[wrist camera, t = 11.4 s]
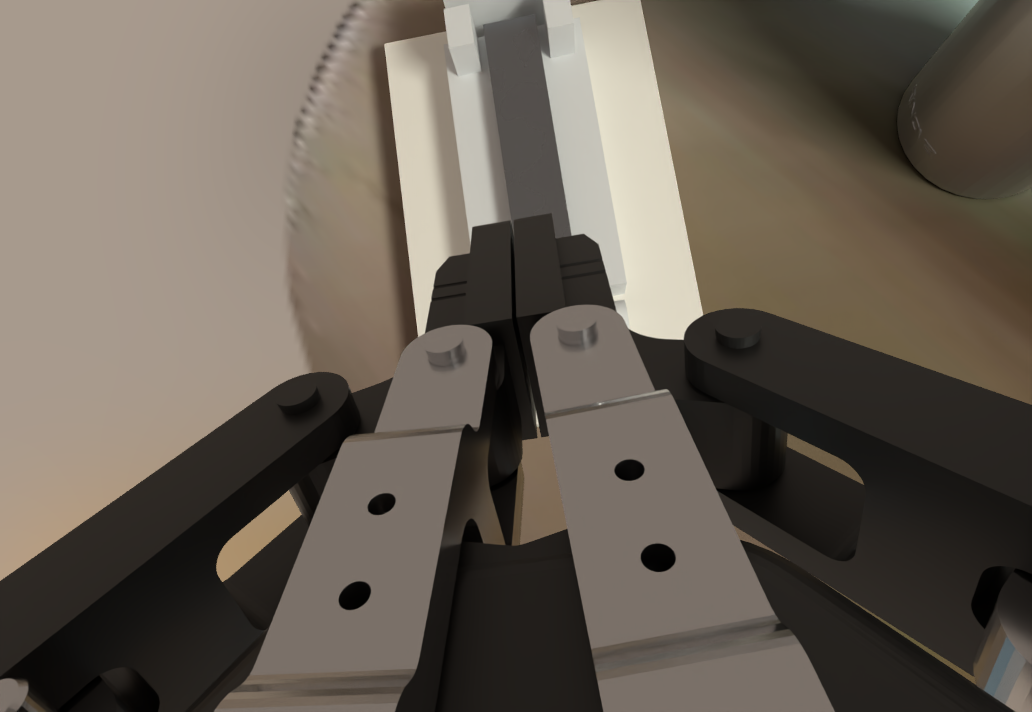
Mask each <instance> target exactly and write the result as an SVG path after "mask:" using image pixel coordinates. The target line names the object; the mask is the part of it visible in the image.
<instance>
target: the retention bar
mask: <svg viewBox="0 0 1032 712" xmlns="http://www.w3.org/2000/svg"><path fill="white" fill-rule="evenodd" d="M483 30H484V36H485V43H486V50H487V57H488V64H489V71H490V77H491V84H492V91H493V98H494V105H495V112H496V118H497V125H498V132H499V139H500V146H501V153H502V159H503V166H504V173H505V180H506V187H507V194H508V200H509V207H510V214H511V221H512V226H513V230H514V219H519V218H525V217H531V216H537V215H542V214H548V213H552V218H553V224H554V230H555V237H556V238H561V237H567V236H572V235H571V229H570V223H569V217H568V210H567V204H566V198H565V192H564V186H563V180H562V174H561V168H560V162H559V156H558V150H557V144H556V138H555V132H554V126H553V120H552V114H551V108H550V101H549V95H548V89H547V83H546V77H545V71H544V65H543V59H542V53H541V47H540V41H539V35H538V29H537V23H536V17H535V14H533V15H528V16H523V17H518V18H513V19H508V20H504V21H499V22H494V23H489V24H484V25H483Z"/></svg>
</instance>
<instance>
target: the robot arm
mask: <svg viewBox="0 0 1032 712" xmlns="http://www.w3.org/2000/svg"><path fill="white" fill-rule="evenodd" d="M897 128H898V134H899V140H900V142H901V145H902V147H903V150H904V152H905V154H906V156H907V157H908V159H909V160H910V162H911V163H912V165H913V166H914V167H915V168H916V169H917V170H918V171H919V172H920V173H921V174H922V175H923V176H924V177H925V178H926V179H927V180H929V181H930V182H932V183H934V184H935V185H937V186H938V187H940V188H941V189H944V190H946V191H949V192H952V193H954V194H957V195H960V196H965V197H970V198H975V199H997V198H1003V197H1008V196H1013V195H1016V194H1018V193H1021V192H1023V191H1026V190H1028V189H1030V188H1032V0H979V1H978V2H977V3H976V4H975V6H974V7H973V8H972V9H971V11H970V12H969V13H968V14H967V15H966V17H965V18H964V19H963V20H962V21H961V23H960V24H959V25H958V26H957V27H956V29H955V30H954V31H953V32H952V33H951V35H950V36H949V37H948V38H947V39H946V40H945V42H944V43H943V44H942V45H941V46H940V48H939V49H938V50H937V51H936V53H935V54H934V55H933V56H932V57H931V59H930V60H929V61H928V62H927V63H926V65H925V66H924V67H923V68H922V69H921V71H920V72H919V73H918V74H917V76H916V77H915V78H914V79H913V80H912V82H911V83H910V85H909V86H908V88H907V89H906V91H905V93H904V94H903V97H902V100H901V102H900V105H899V108H898V118H897ZM433 287H434V289H433V291H432V296H431V301H432V302H430V307H429V313H428V318H427V324H426V330H425V334H423V335H421V336H419V337H417V338H416V339H415V340H413V341H412V342H411V343H410V344H409V345H408V346H407V347H406V348H405V349H404V351H403V352H402V354H401V357H400V360H399V363H398V365H397V368H396V371H395V374H394V377H393V378H391V379H389V380H386V381H384V382H381V383H379V384H376V385H374V386H371V387H368V388H365V389H362V390H360V391H357V392H354V393H351V390H350V388H349V385H348V383H347V381H346V380H345V379H344V378H343V377H341V376H340V375H338V374H334V373H329V372H316V373H309V374H305V375H301V376H298V377H295V378H292V379H290V380H288V381H286V382H284V383H282V384H280V385H278V386H277V387H275V388H273V389H272V390H271V391H269V392H268V393H266V394H265V395H264V396H262V397H261V398H259V399H258V400H256V401H255V402H253V403H252V404H251V405H249V406H248V407H246V408H245V409H244V410H242V411H241V412H239V413H238V414H236V415H235V416H234V417H232V418H231V419H229V420H228V421H227V422H225V423H224V424H222V425H221V426H219V427H218V428H217V429H215V430H214V431H213V432H211V433H210V434H208V435H207V436H206V437H204V438H202V439H201V440H200V441H198V442H197V443H195V444H194V445H193V446H191V447H190V448H188V449H187V450H186V451H184V452H183V453H182V454H180V455H178V456H177V457H176V458H174V459H173V460H171V461H170V462H168V463H167V464H166V465H165V466H163V467H162V468H160V469H159V470H157V471H156V472H154V473H153V474H152V475H150V476H149V477H147V478H146V479H145V480H143V481H141V482H140V483H139V484H137V485H136V486H135V487H133V488H132V489H130V490H129V491H127V492H126V493H125V494H123V495H122V496H120V497H119V498H117V499H116V500H115V501H113V502H112V503H110V504H109V505H107V506H106V507H105V508H103V509H102V510H101V511H99V512H98V513H96V514H95V515H93V516H92V517H91V518H89V519H88V520H86V521H85V522H83V523H82V524H81V525H79V526H78V527H76V528H75V529H73V530H72V531H71V532H69V533H68V534H66V535H65V536H64V537H62V538H61V539H59V540H58V541H57V542H55V543H54V544H52V545H51V546H49V547H48V548H47V549H45V550H44V551H42V552H41V553H39V554H38V555H37V556H35V557H34V558H32V559H31V560H29V561H28V562H27V563H25V564H24V565H22V566H21V567H20V568H18V569H17V570H15V571H14V572H13V573H11V574H10V575H8V576H7V577H5V578H4V579H3V580H1V581H0V712H1032V405H1030V404H1027V403H1024V402H1022V401H1019V400H1016V399H1013V398H1010V397H1007V396H1004V395H1002V394H999V393H996V392H993V391H990V390H987V389H984V388H982V387H979V386H976V385H973V384H970V383H967V382H964V381H962V380H959V379H956V378H953V377H950V376H947V375H944V374H942V373H939V372H936V371H933V370H930V369H927V368H924V367H922V366H919V365H916V364H913V363H910V362H907V361H904V360H902V359H899V358H896V357H893V356H890V355H887V354H884V353H882V352H879V351H876V350H873V349H870V348H867V347H864V346H862V345H859V344H856V343H853V342H850V341H847V340H844V339H842V338H839V337H836V336H833V335H830V334H827V333H824V332H822V331H819V330H816V329H813V328H810V327H807V326H804V325H802V324H799V323H796V322H793V321H790V320H787V319H784V318H782V317H779V316H776V315H773V314H770V313H767V312H763V311H759V310H754V309H744V308H734V309H724V310H719V311H715V312H711V313H708V314H706V315H703V316H701V317H699V318H698V319H696V320H695V321H693V322H692V323H691V324H690V325H689V326H688V328H687V329H686V331H685V333H684V340H677V339H660V338H653V337H648V336H644V335H641V334H638V333H636V332H633V331H632V330H630V329H628V327H627V325H626V323H625V320H624V319H623V317H622V316H621V315H620V314H619V313H617V311H616V307H615V303H614V299H613V296H612V292H611V288H610V285H609V281H608V277H607V274H606V270H605V266H604V263H603V260H602V255H601V251H600V248H599V244H598V243H596V242H595V241H594V240H592V239H591V238H589V237H588V236H586V235H585V234H579V235H573V236H567V237H561V238H556V237H555V230H554V224H553V218H552V213H548V214H542V215H537V216H531V217H525V218H519V219H514V230H513V226H512V222H511V220H509V221H503V222H497V223H491V224H485V225H480V226H474V227H472V235H471V245H470V253H468V254H462V255H456V256H450V257H448V259H447V260H446V261H445V262H444V263H443V264H442V265H441V266H440V268H439V269H438V270H437V271H436V274H435V280H434V285H433ZM536 414H537V418H538V423H539V428H540V433H541V437H547V436H549V438H550V443H551V448H552V453H553V458H554V463H555V468H556V473H557V478H558V483H559V488H560V493H561V499H562V504H563V509H564V514H565V519H566V524H567V529H566V530H563V531H560V532H557V533H555V534H552V535H549V536H546V537H543V538H540V539H537V540H535V541H532V542H529V543H526V544H522V545H520V535H521V520H522V505H523V490H524V472H523V468H522V464H521V459H522V440H527V439H534V438H537V424H536ZM788 433H789V434H791V435H793V436H795V437H797V438H799V439H801V440H803V441H805V442H807V443H809V444H811V445H814V446H816V447H818V448H820V449H822V450H824V451H826V452H828V453H830V454H832V455H834V456H836V457H838V458H840V459H842V460H844V461H845V462H846V463H848V464H849V465H850V466H851V467H852V468H853V469H854V470H855V471H856V472H857V473H858V474H859V476H860V477H861V479H862V481H863V483H864V485H863V484H861V483H859V482H857V481H855V480H853V479H851V478H849V477H847V476H845V475H843V474H841V473H839V472H837V471H835V470H833V469H831V468H829V467H827V466H825V465H823V464H821V463H819V462H817V461H815V460H813V459H811V458H809V457H807V456H805V455H803V454H801V453H799V452H797V451H795V450H793V449H791V448H789V447H787V434H788ZM288 490H289V491H290V493H291V495H292V497H293V499H294V501H295V502H296V504H297V506H298V508H299V510H300V512H301V514H302V515H301V516H300V517H299V518H297V519H296V520H295V521H294V522H293V523H292V524H291V525H289V526H288V527H287V528H286V529H285V530H284V531H282V532H281V533H280V534H279V535H278V536H277V537H276V538H274V539H273V540H272V541H271V542H270V543H269V544H268V545H266V546H265V547H264V548H263V549H262V550H261V551H260V552H259V553H257V554H256V555H255V556H254V557H253V558H252V559H250V560H249V561H248V562H247V563H246V564H245V565H244V566H243V567H241V568H240V569H239V570H238V571H237V572H235V573H234V574H233V575H232V576H231V577H230V578H228V579H227V580H225V581H224V582H222V581H221V580H220V578H219V577H218V575H217V571H216V563H217V558H218V555H219V553H220V551H221V550H222V548H223V546H224V545H225V544H226V543H227V541H228V540H229V539H231V538H232V537H233V536H234V535H235V534H236V533H238V532H239V531H240V530H241V529H242V528H244V527H245V526H246V525H247V524H248V523H250V522H251V521H252V520H253V519H254V518H256V517H257V516H258V515H259V514H260V513H262V512H263V511H264V510H265V509H266V508H268V507H269V506H270V505H271V504H272V503H274V502H275V501H276V500H277V499H279V498H280V497H281V496H282V495H283V494H284V493H286V492H287V491H288ZM733 525H734V526H736V527H737V528H739V529H740V530H742V531H744V532H745V533H747V534H748V535H750V536H751V537H753V538H755V539H756V540H758V541H759V542H761V543H763V544H764V545H766V546H767V547H769V548H770V549H772V550H774V551H775V552H777V553H778V554H780V555H782V556H783V557H785V558H786V559H785V558H783V557H781V556H779V555H777V554H775V553H773V552H772V551H769V550H767V549H764V548H762V547H759V546H757V545H754V544H752V543H749V542H745V541H742V540H739V537H738V535H737V533H736V531H735V529H734V527H733ZM787 559H788V560H787ZM789 560H790V561H789ZM808 572H809V573H808ZM811 574H812V575H811ZM814 576H815V577H814ZM816 577H817V578H818V579H817V578H816ZM819 579H820V580H821V581H820V580H819ZM822 581H823V582H824V583H823V582H822ZM825 583H826V584H828V585H829V586H831V587H832V588H834V589H836V590H837V591H839V592H840V593H842V594H843V595H845V596H847V597H848V598H850V599H851V600H853V601H855V602H856V603H858V604H859V605H861V606H863V607H864V608H866V609H867V610H869V611H870V612H872V613H874V614H875V615H877V616H878V617H880V618H882V619H883V620H885V621H886V622H888V623H889V624H891V625H893V626H894V627H896V628H897V629H899V630H901V631H902V632H904V633H905V634H907V635H909V636H910V637H912V638H913V639H915V640H916V641H918V642H920V643H921V644H923V645H924V646H926V647H928V648H929V649H931V650H932V651H934V652H936V653H937V654H939V655H940V656H942V657H943V658H945V659H947V660H948V661H950V662H951V663H953V664H955V665H956V666H958V667H959V668H961V669H962V670H964V671H966V672H967V673H969V674H970V675H972V676H974V677H975V681H976V685H975V684H974V683H972V682H971V681H969V680H968V679H966V678H965V677H963V676H962V675H960V674H959V673H957V672H956V671H954V670H953V669H951V668H950V667H948V666H947V665H945V664H944V663H942V662H941V661H939V660H938V659H936V658H935V657H933V656H932V655H930V654H929V653H927V652H926V651H924V650H923V649H921V648H920V647H919V646H917V645H916V644H914V643H913V642H911V641H910V640H908V639H907V638H905V637H904V636H902V635H901V634H899V633H898V632H896V631H895V630H893V629H892V628H890V627H889V626H887V625H886V624H884V623H883V622H881V621H880V620H878V619H877V618H875V617H874V616H872V615H871V614H869V613H868V612H866V611H865V610H863V609H862V608H860V607H859V606H857V605H856V604H854V603H853V602H851V601H850V600H849V599H847V598H846V597H844V596H843V595H841V594H840V593H838V592H837V591H835V590H834V589H832V588H831V587H829V586H828V585H826V584H825Z"/></svg>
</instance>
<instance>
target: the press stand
mask: <svg viewBox="0 0 1032 712" xmlns="http://www.w3.org/2000/svg"><path fill="white" fill-rule="evenodd" d="M443 2H444V5H445V8H446V9H444V16H445V24H446V31H445V32H440V33H435V34H430V35H425V36H420V37H415V38H410V39H405V40H401V41H396V42H391V43H386V44H384V45H385V54H386V63H387V71H388V80H389V89H390V97H391V106H392V115H393V123H394V132H395V140H396V149H397V158H398V166H399V175H400V184H401V192H402V201H403V210H404V218H405V227H406V236H407V244H408V253H409V262H410V270H411V279H412V287H413V296H414V305H415V313H416V322H417V331H418V337H419V336H421V335H423V334H425V330H426V324H427V318H428V313H429V307H430V302H432V301H431V296H432V291H433V289H434V287H433V285H434V280H435V274H436V271H437V270H438V269H439V268H440V266H441V265H442V264H443V263H444V262H445V261H446V260H447V259H448V257H450V256H456V255H462V254H468V253H470V245H471V235H472V227H474V226H480V225H485V224H491V223H497V222H503V221H509V220H511V214H510V207H509V200H508V194H507V187H506V180H505V173H504V166H503V159H502V153H501V146H500V139H499V132H498V125H497V118H496V112H495V105H494V98H493V91H492V84H491V77H490V71H489V64H488V57H487V50H486V43H485V36H484V30H483V25H484V24H489V23H494V22H499V21H504V20H508V19H513V18H518V17H523V16H528V15H533V14H535V17H536V23H537V29H538V35H539V41H540V47H541V53H542V59H543V65H544V71H545V77H546V83H547V89H548V95H549V101H550V108H551V114H552V120H553V126H554V132H555V138H556V144H557V150H558V156H559V162H560V168H561V174H562V180H563V186H564V192H565V198H566V204H567V210H568V217H569V223H570V229H571V235H572V236H573V235H579V234H585V235H586V236H588V237H589V238H591V239H592V240H594V241H595V242H596V243H598V244H599V248H600V251H601V255H602V260H603V263H604V266H605V270H606V274H607V277H608V281H609V285H610V288H611V292H612V296H613V299H614V303H615V307H616V311H617V313H619V314H620V315H621V316H622V317H623V319H624V320H625V323H626V325H627V327H628V329H630V330H632V331H633V332H636V333H638V334H641V335H644V336H648V337H653V338H660V339H677V340H684V333H685V331H686V329H687V328H688V326H689V325H690V324H691V323H692V322H693V321H695V320H696V319H698V318H699V317H701V316H703V312H702V307H701V302H700V297H699V292H698V287H697V282H696V277H695V272H694V267H693V262H692V257H691V252H690V247H689V242H688V237H687V232H686V227H685V222H684V217H683V212H682V207H681V202H680V197H679V192H678V187H677V182H676V177H675V172H674V167H673V162H672V157H671V152H670V147H669V141H668V136H667V131H666V126H665V121H664V116H663V111H662V106H661V101H660V96H659V91H658V86H657V81H656V76H655V71H654V66H653V61H652V56H651V51H650V46H649V41H648V36H647V31H646V26H645V21H644V16H643V11H642V6H641V1H640V0H598V1H593V2H589V3H584V4H579V5H574V6H571V3H570V0H443ZM511 222H512V221H511ZM536 424H537V427H539V423H538V418H537V414H536Z"/></svg>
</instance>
